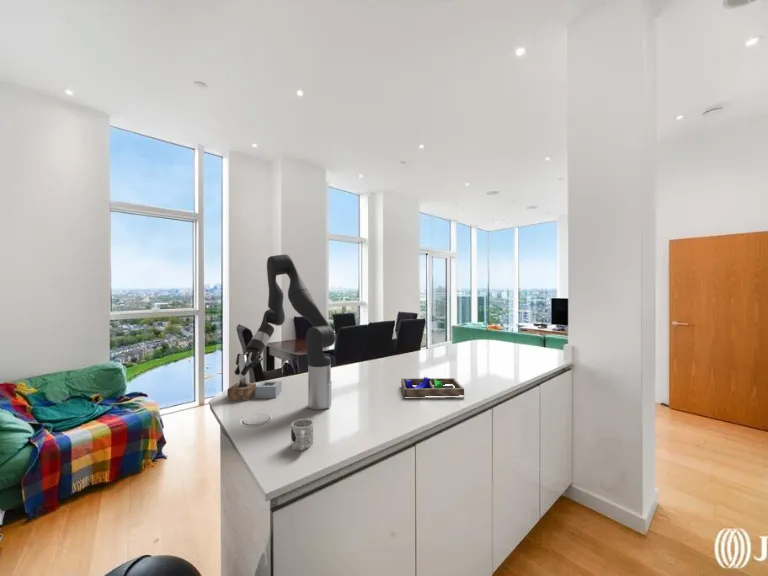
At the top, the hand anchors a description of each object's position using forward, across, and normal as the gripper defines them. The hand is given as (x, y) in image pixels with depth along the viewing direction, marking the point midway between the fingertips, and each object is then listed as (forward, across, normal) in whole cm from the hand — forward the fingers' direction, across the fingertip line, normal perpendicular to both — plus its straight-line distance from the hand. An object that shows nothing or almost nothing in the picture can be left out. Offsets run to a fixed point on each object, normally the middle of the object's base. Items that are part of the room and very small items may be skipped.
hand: (239, 374), depth 140 cm
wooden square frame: (+6, 0, +9) cm, 11 cm away
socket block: (+2, +9, +14) cm, 16 cm away
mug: (+29, +52, -12) cm, 60 cm away
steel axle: (+4, 0, +7) cm, 8 cm away
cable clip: (-17, +73, +33) cm, 82 cm away
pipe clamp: (-19, +83, +36) cm, 92 cm away
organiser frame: (-18, +79, +35) cm, 88 cm away
